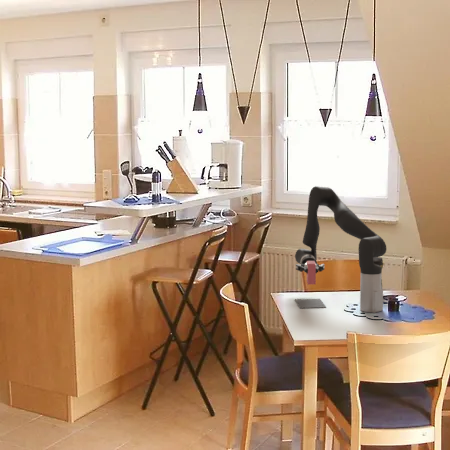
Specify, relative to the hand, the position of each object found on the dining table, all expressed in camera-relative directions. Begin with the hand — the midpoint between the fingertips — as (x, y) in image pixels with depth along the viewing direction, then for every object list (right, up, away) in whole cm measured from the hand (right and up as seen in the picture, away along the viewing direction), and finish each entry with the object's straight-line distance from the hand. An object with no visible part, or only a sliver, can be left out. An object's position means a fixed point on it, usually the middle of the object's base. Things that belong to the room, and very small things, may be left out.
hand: (311, 271), depth 345 cm
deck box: (0, -6, +4) cm, 7 cm away
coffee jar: (+33, -13, +31) cm, 47 cm away
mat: (+1, -16, +13) cm, 21 cm away
